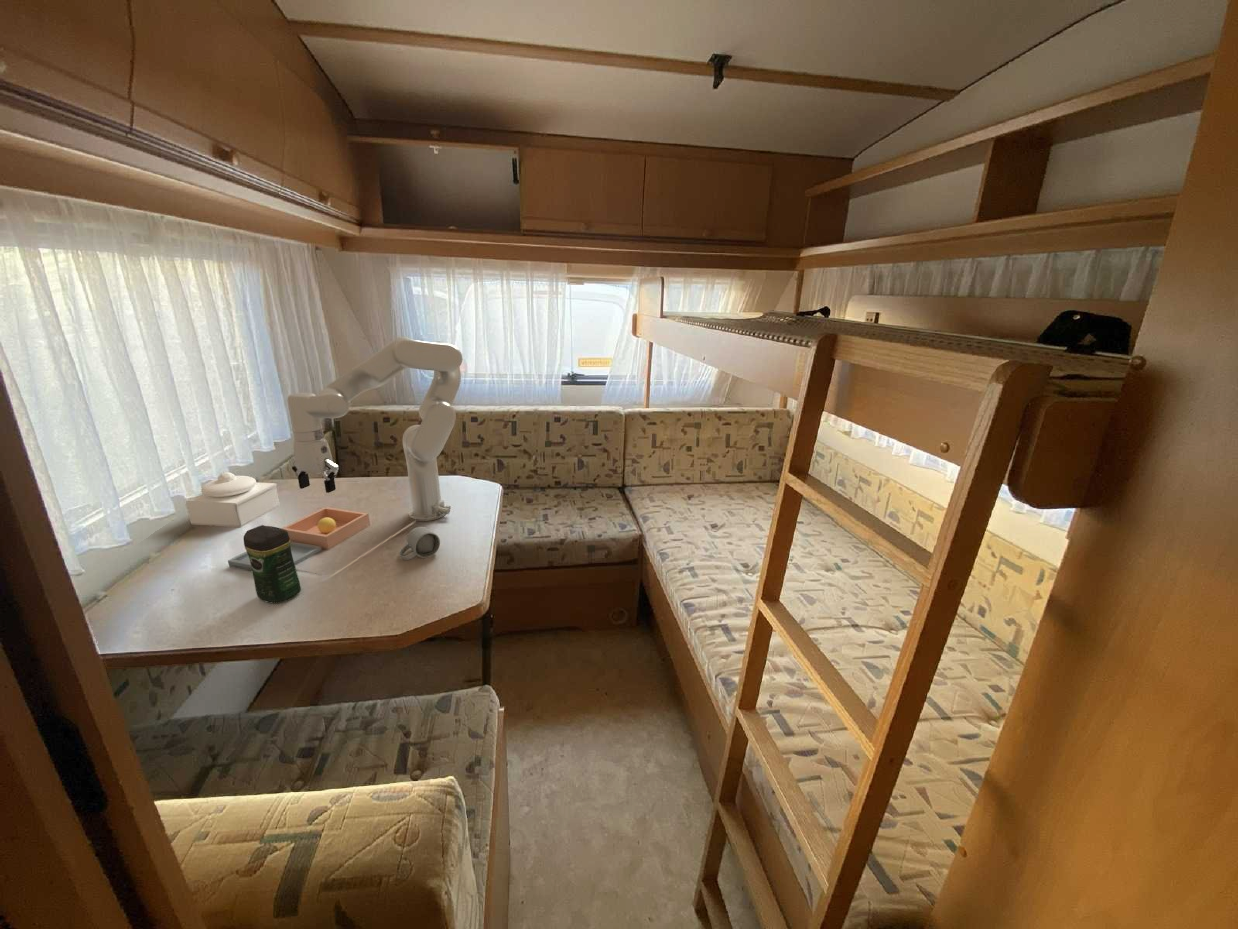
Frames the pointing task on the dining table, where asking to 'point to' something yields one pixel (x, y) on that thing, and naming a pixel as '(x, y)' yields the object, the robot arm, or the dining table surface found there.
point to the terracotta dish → (345, 528)
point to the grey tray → (297, 550)
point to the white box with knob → (232, 501)
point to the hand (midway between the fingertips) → (317, 489)
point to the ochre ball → (326, 525)
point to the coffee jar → (272, 563)
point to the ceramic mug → (421, 543)
